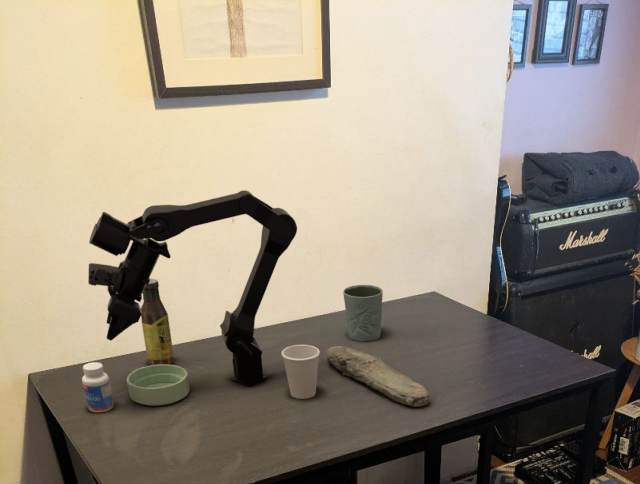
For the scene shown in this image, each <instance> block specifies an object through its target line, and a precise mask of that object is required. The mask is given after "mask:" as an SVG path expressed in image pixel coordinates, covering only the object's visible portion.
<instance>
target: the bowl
mask: <svg viewBox="0 0 640 484" xmlns="http://www.w3.org/2000/svg"><path fill="white" fill-rule="evenodd" d="M126 384H127V389H128V393H129V394H128V395H129V398H130V399H131V400H132V401H133V402H134V403H137V404H140V405H144V406H153V407H154V406H156V407H157V406H166V405H170V404H174V403H176V402H178V401H180V400H182V399H184V398H186V397H187V396H188V395H189V393H190V391H191V389H190V381H189V375H188V371H187V370H186V369H185V368H184V367H181V366H179V365H176V364H159V365H150V364H149V365H147V366H143V367H140V368H137V369H134V370H133V371H131V372H130V373H129V374H128V375H127V377H126Z"/></svg>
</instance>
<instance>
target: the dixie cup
mask: <svg viewBox="0 0 640 484" xmlns="http://www.w3.org/2000/svg"><path fill="white" fill-rule="evenodd" d="M320 354H321V350H319V348H318V347H316V346H313V345H310V344H293V345H290V346H286V347H285V348H284V349H282V351H281V356H282V358H283V364H284V368H285V369H284V370H285V374H286V378H287V385H288V388H289V394H290V396H291V397H292V398H295V399H299V400H306V399H311V398H313V397H314V396H315V395H316V393H317V381H318V369H319V356H320Z"/></svg>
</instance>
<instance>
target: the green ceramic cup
mask: <svg viewBox="0 0 640 484" xmlns="http://www.w3.org/2000/svg"><path fill="white" fill-rule="evenodd" d="M383 291H384V290H383V289H382V288H381V287H380V286H376V285H373V284H355V285H351V286H348V287H346V288H344V289H343V291H342V294H343V302H344V309H345V319H346V324H347V325H346V328H347V337H348V338H349V339H351V340H353V341H356V342H372V341H376V340H378V339H379V338H381V335H382V333H381V332H382V317H383V316H382V315H383V308H382V306H383V293H384V292H383Z"/></svg>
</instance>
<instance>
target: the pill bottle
mask: <svg viewBox="0 0 640 484" xmlns="http://www.w3.org/2000/svg"><path fill="white" fill-rule="evenodd" d="M82 371H83V374H84V375H83V376H82V377H81V381H82V387H83V392H84V396H85V401H86V404H87V405H86V406H87V409H88V410H89V411H91V412H93V413H104V412H108V411H111V410H112V409H113V408H114V405H115V403H114V398H113V397H114V396H113V391H112V385H111V381H110V378H109V374H107V373H106V372H104V365H103V363H102V362H99V361H94V362H93V361H92V362H88V363H85V364H84V365H83V366H82Z"/></svg>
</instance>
